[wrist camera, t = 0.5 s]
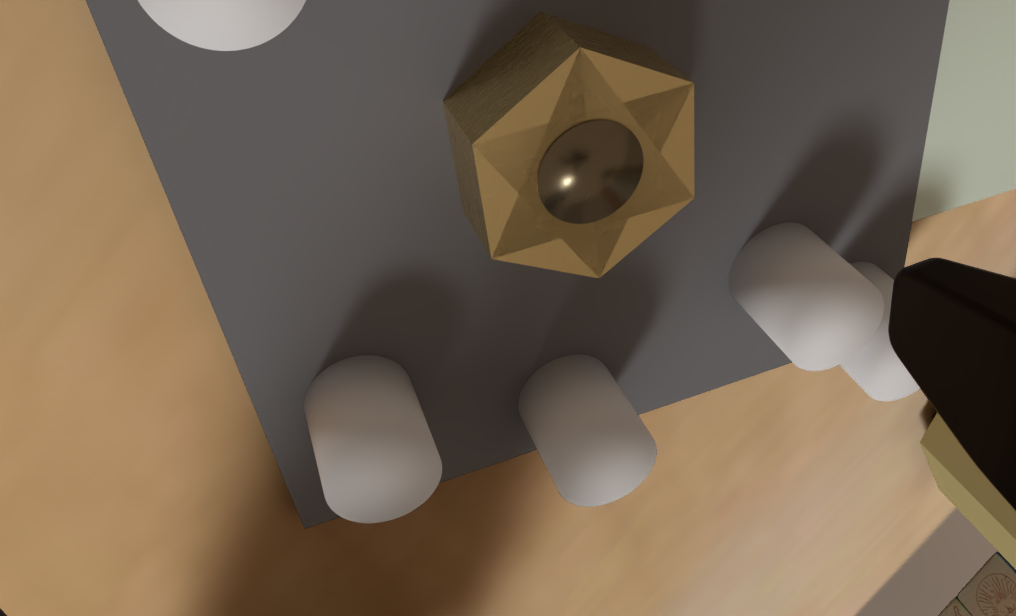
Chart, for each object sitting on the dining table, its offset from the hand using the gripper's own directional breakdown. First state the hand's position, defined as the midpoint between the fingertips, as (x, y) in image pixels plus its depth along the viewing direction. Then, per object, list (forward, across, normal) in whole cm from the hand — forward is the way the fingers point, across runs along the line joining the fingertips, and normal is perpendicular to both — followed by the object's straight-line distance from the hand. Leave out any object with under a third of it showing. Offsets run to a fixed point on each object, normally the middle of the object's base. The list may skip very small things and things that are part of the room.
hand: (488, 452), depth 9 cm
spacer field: (+13, -6, +4) cm, 15 cm away
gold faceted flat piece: (+12, -5, +4) cm, 14 cm away
